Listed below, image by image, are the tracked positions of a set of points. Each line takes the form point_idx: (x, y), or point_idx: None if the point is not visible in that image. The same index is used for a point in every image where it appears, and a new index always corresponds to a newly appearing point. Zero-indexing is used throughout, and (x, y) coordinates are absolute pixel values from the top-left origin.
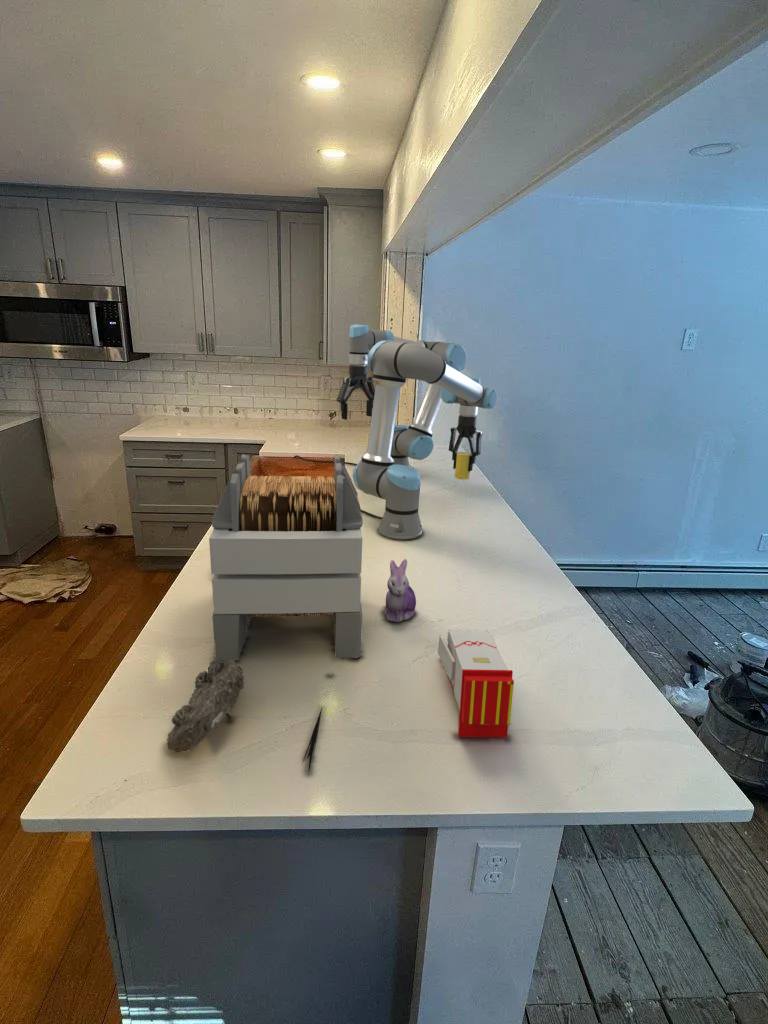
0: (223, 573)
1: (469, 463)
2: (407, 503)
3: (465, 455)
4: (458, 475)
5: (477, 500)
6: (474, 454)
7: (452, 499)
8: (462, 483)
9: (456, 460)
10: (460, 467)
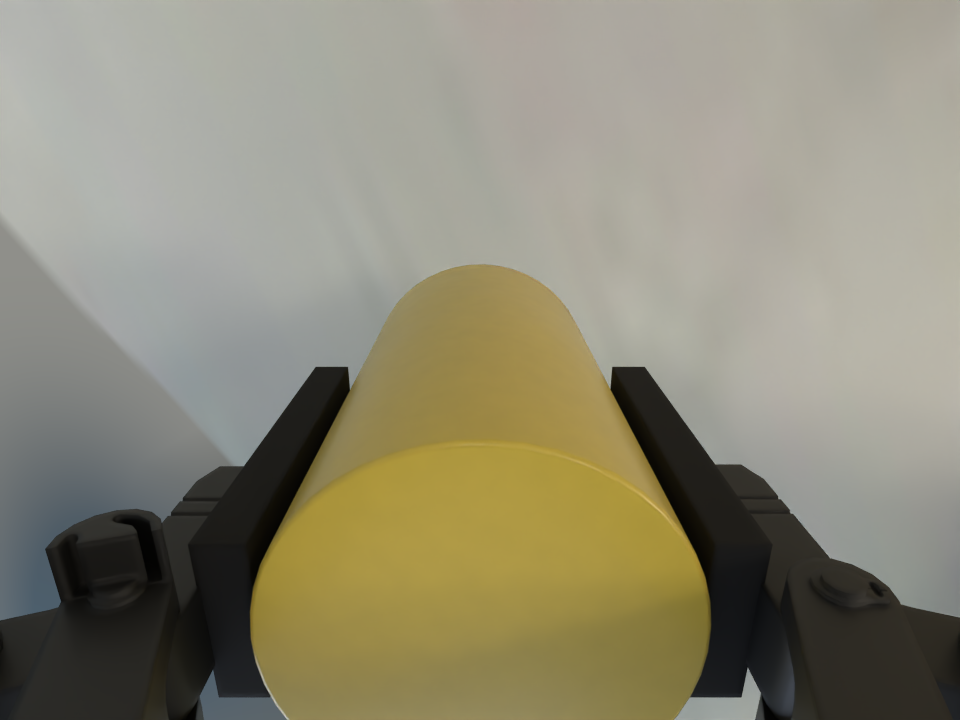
0: None
1: (296, 435)
2: None
3: (344, 481)
4: (496, 276)
5: (259, 239)
6: (65, 631)
7: (484, 95)
8: None
9: (623, 420)
10: (473, 313)
